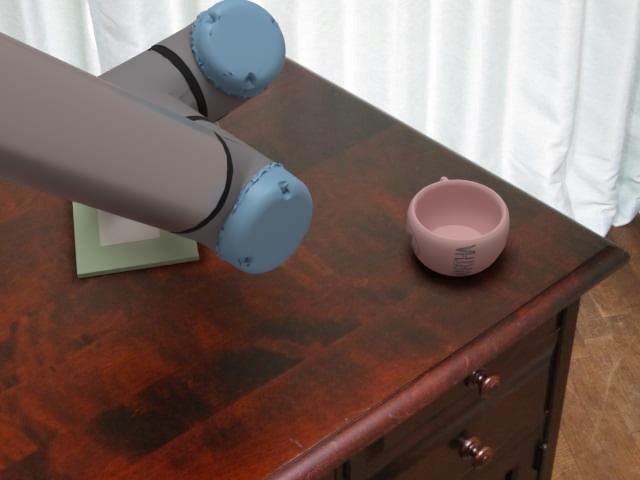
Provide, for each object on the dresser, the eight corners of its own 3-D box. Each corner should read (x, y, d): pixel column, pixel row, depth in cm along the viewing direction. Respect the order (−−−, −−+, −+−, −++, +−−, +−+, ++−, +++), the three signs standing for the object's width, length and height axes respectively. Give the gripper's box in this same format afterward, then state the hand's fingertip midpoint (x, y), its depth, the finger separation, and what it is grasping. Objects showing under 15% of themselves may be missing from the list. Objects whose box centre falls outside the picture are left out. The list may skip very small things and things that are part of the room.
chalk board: (199, 260, 114) (198, 255, 114) (78, 278, 113) (76, 273, 112) (175, 130, 130) (175, 125, 130) (69, 145, 129) (68, 140, 128)
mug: (517, 283, 111) (523, 237, 107) (416, 295, 110) (418, 249, 106) (486, 203, 120) (490, 158, 116) (392, 214, 119) (394, 169, 115)
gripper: (122, 173, 97) (56, 222, 118) (275, 96, 105) (188, 155, 126) (78, 94, 97) (19, 158, 117) (235, 23, 105) (154, 94, 125)
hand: (106, 156), depth 122 cm, fingers closed on eraser, 4 cm apart
